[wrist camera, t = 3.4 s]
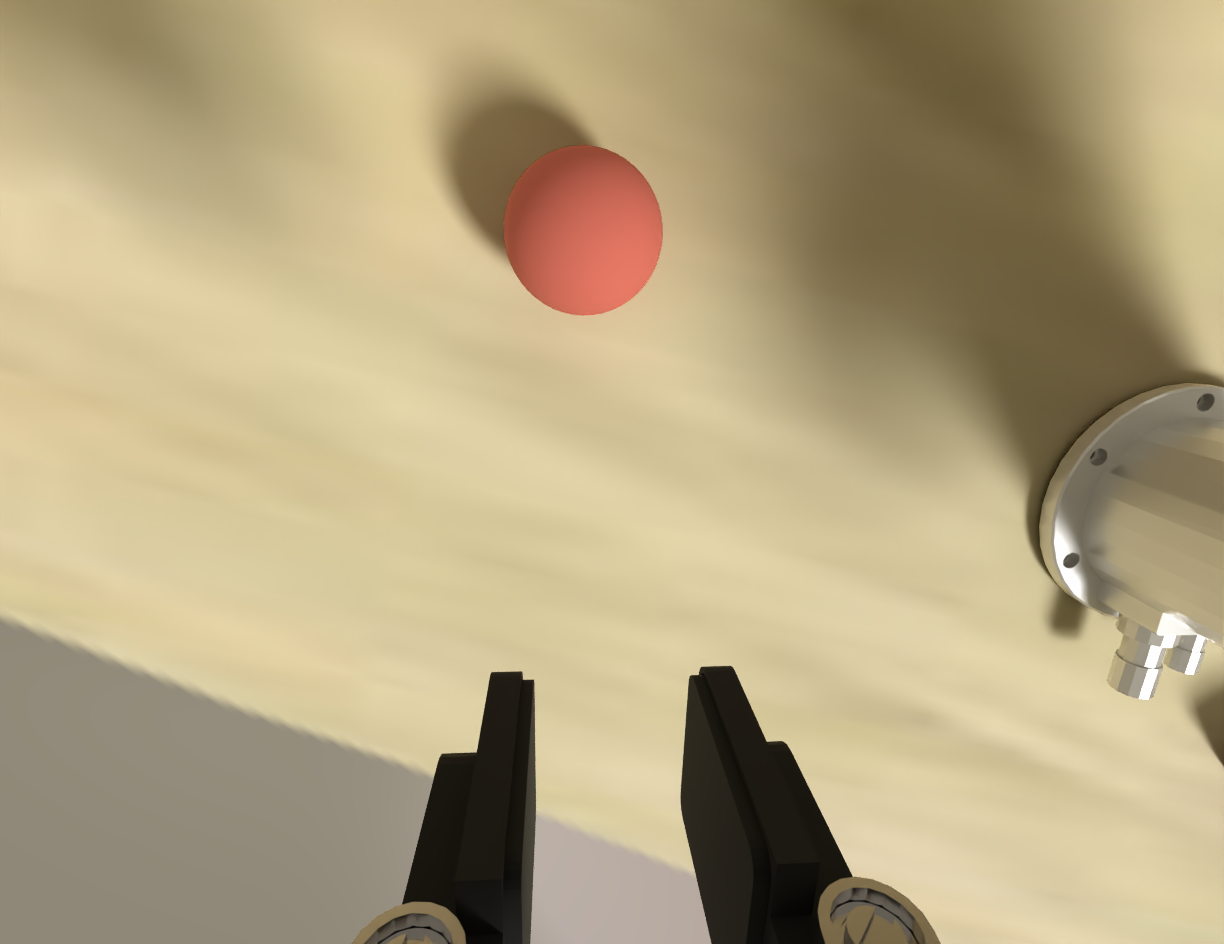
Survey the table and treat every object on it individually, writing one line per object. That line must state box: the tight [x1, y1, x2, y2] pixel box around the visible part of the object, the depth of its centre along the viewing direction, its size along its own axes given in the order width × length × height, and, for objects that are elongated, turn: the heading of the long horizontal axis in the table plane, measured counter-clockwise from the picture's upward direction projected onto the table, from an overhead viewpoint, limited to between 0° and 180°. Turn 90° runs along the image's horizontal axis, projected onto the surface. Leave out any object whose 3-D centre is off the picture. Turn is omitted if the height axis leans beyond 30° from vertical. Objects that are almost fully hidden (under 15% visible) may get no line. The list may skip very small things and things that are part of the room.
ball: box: [504, 145, 663, 315], centre depth 24 cm, size 6×6×6 cm
